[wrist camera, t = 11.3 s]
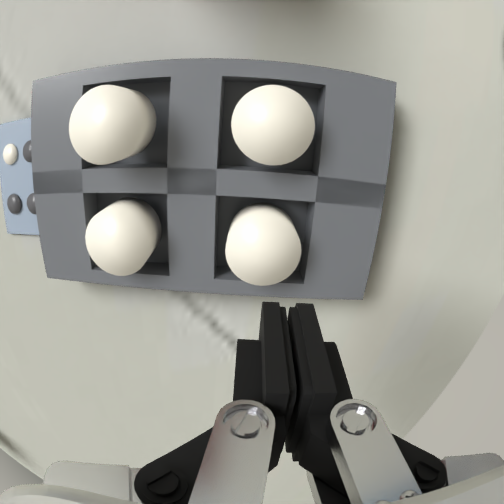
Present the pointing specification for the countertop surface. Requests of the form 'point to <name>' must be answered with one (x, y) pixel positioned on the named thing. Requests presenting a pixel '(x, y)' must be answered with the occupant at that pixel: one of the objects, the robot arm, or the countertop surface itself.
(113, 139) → the button
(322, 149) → the button board
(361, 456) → the robot arm
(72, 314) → the countertop surface
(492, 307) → the countertop surface
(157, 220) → the button
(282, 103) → the button
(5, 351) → the countertop surface
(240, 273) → the button
